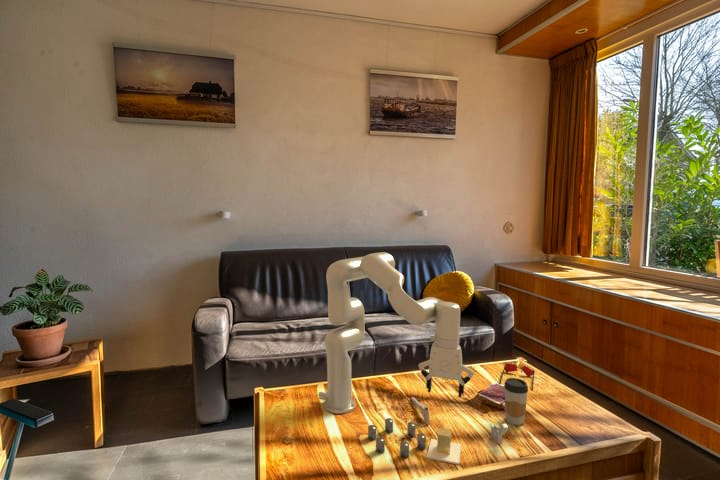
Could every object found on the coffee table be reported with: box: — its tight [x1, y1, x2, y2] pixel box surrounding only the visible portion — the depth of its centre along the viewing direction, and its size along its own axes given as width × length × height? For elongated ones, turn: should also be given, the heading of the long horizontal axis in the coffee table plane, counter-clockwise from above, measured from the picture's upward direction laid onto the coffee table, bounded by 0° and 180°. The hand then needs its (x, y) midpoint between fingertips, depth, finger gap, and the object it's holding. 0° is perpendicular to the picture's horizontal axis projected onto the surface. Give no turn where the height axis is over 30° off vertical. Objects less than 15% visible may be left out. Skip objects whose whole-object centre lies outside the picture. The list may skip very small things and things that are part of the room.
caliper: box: [410, 396, 430, 425], centre depth 154 cm, size 20×1×6 cm, turn 9°
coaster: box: [426, 438, 462, 465], centre depth 128 cm, size 10×10×1 cm
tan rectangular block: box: [436, 427, 452, 455], centre depth 128 cm, size 4×4×6 cm
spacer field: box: [367, 417, 427, 460], centre depth 133 cm, size 20×15×4 cm
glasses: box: [498, 362, 536, 392], centre depth 181 cm, size 14×16×5 cm
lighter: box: [490, 423, 509, 445], centre depth 133 cm, size 7×2×8 cm, turn 16°
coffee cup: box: [503, 377, 529, 426], centre depth 146 cm, size 8×8×15 cm
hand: (444, 392), depth 127 cm, fingers open, 9 cm apart
